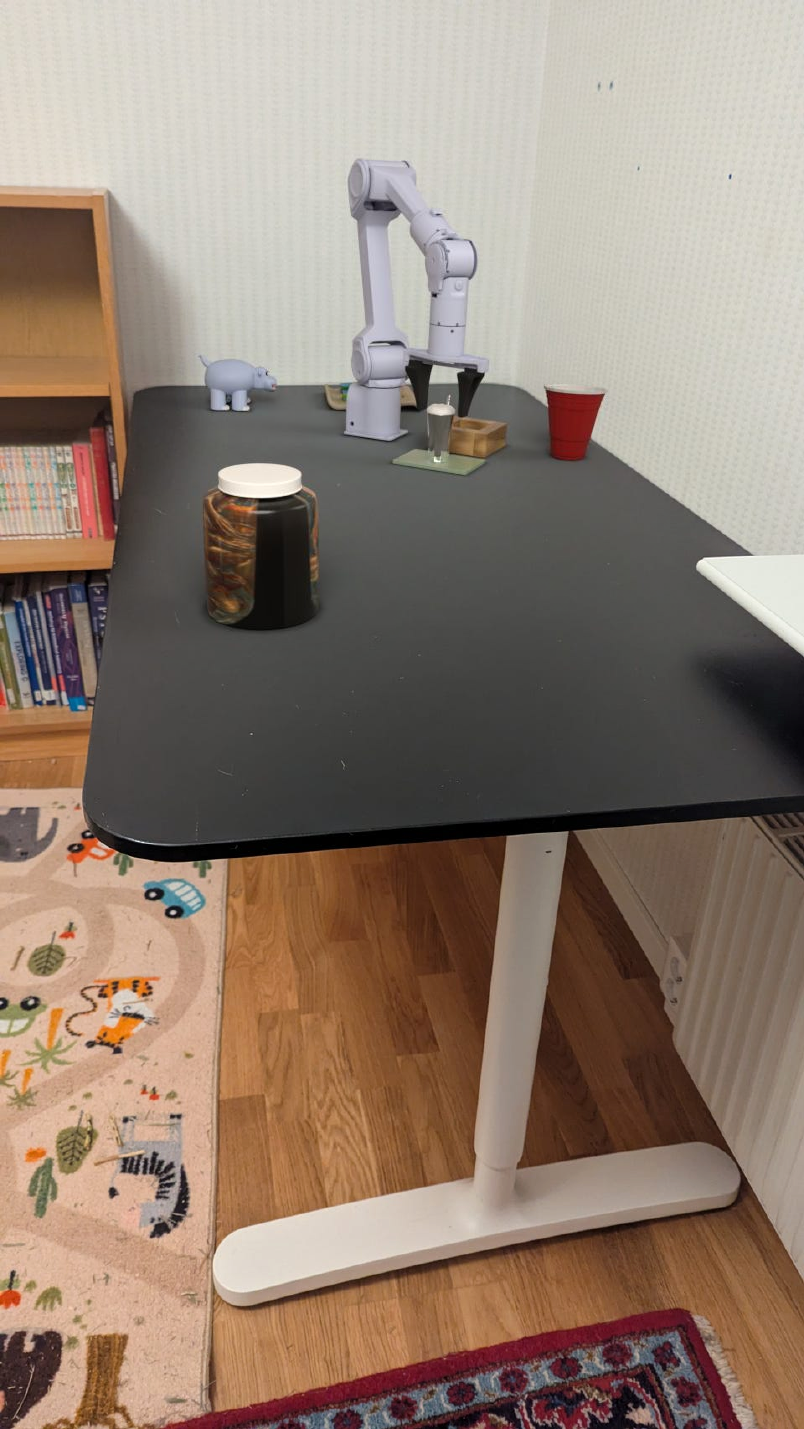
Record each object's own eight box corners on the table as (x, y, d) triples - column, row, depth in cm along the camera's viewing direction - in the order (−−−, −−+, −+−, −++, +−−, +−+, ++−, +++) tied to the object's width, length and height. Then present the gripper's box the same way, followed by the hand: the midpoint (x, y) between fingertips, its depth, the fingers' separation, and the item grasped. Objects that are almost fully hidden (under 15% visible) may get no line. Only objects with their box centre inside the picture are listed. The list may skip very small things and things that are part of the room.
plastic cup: (596, 450, 181) (605, 381, 176) (601, 466, 172) (611, 393, 166) (535, 446, 182) (543, 377, 176) (537, 461, 173) (544, 389, 167)
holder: (428, 449, 177) (430, 426, 175) (451, 437, 185) (452, 415, 183) (484, 458, 173) (486, 434, 171) (505, 445, 182) (507, 423, 180)
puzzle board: (323, 393, 216) (323, 376, 215) (411, 394, 219) (412, 378, 217) (327, 410, 201) (327, 392, 200) (422, 412, 203) (423, 394, 202)
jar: (271, 640, 104) (268, 496, 96) (185, 613, 109) (176, 475, 102) (338, 605, 113) (340, 471, 105) (255, 582, 118) (252, 452, 111)
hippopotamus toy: (277, 412, 198) (276, 361, 193) (198, 410, 196) (196, 359, 191) (277, 401, 207) (276, 352, 203) (202, 399, 205) (200, 350, 201)
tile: (392, 463, 167) (392, 460, 167) (414, 452, 175) (414, 448, 174) (465, 475, 163) (465, 471, 163) (485, 463, 170) (485, 459, 170)
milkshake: (457, 458, 170) (462, 397, 165) (445, 465, 166) (449, 402, 161) (433, 454, 172) (436, 393, 167) (420, 461, 167) (423, 398, 162)
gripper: (500, 327, 158) (493, 415, 165) (420, 317, 165) (416, 402, 171) (479, 331, 153) (473, 423, 159) (397, 321, 159) (394, 409, 166)
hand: (442, 413), depth 165 cm, fingers open, 7 cm apart
